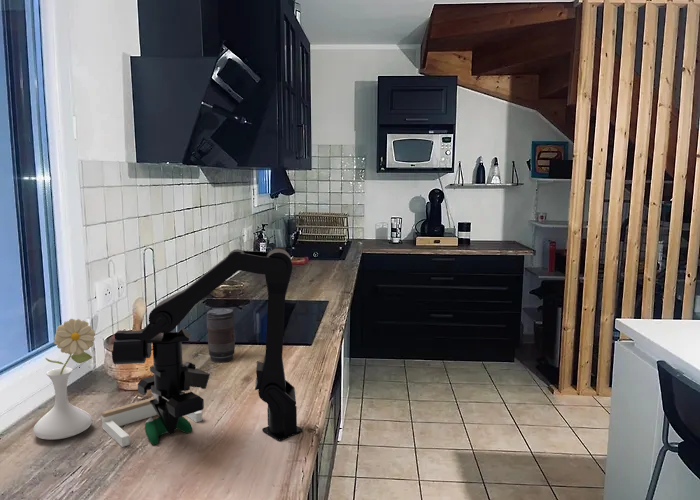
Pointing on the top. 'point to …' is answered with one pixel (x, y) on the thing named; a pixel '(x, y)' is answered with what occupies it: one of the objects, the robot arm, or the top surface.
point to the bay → (131, 418)
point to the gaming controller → (163, 428)
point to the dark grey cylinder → (221, 334)
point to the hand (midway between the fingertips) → (171, 433)
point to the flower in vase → (64, 415)
